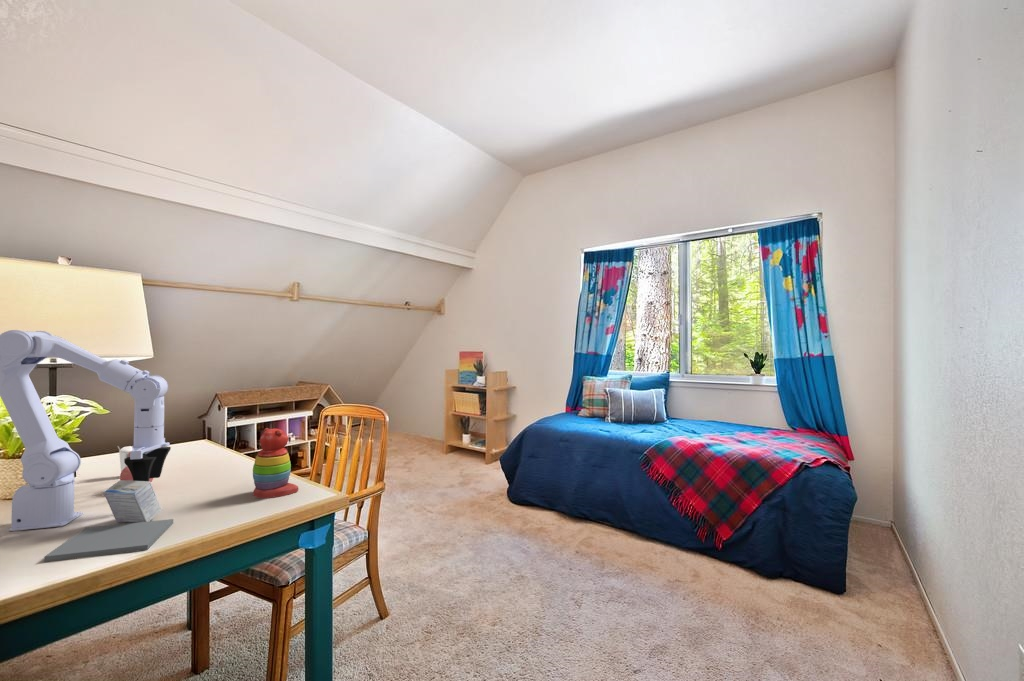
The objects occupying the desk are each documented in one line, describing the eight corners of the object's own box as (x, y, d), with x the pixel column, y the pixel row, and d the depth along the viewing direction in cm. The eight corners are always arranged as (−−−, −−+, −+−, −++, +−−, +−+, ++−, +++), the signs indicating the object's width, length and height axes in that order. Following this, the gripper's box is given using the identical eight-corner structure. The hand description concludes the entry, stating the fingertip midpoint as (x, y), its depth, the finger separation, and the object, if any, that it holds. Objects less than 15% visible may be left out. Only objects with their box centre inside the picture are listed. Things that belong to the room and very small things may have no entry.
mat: (44, 561, 85) (44, 556, 85) (85, 532, 98) (85, 527, 98) (147, 549, 90) (147, 544, 90) (173, 523, 104) (173, 518, 104)
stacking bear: (301, 491, 127) (302, 427, 127) (266, 501, 119) (267, 433, 119) (278, 484, 133) (279, 423, 133) (243, 494, 124) (244, 429, 124)
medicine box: (163, 510, 107) (151, 480, 104) (147, 524, 103) (134, 493, 100) (132, 508, 108) (120, 479, 105) (115, 522, 104) (102, 492, 101)
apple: (129, 486, 129) (130, 458, 130) (159, 484, 131) (159, 457, 131) (113, 494, 122) (114, 465, 122) (144, 493, 124) (145, 463, 124)
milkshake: (111, 478, 136) (112, 445, 136) (131, 473, 141) (131, 441, 141) (122, 480, 135) (123, 446, 135) (141, 475, 140) (142, 442, 140)
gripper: (157, 430, 104) (156, 489, 104) (179, 420, 118) (178, 472, 118) (119, 432, 102) (118, 492, 102) (146, 421, 115) (145, 474, 115)
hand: (148, 482), depth 109 cm, fingers open, 7 cm apart
